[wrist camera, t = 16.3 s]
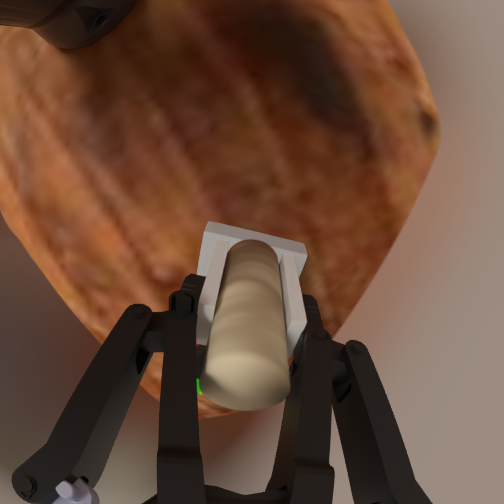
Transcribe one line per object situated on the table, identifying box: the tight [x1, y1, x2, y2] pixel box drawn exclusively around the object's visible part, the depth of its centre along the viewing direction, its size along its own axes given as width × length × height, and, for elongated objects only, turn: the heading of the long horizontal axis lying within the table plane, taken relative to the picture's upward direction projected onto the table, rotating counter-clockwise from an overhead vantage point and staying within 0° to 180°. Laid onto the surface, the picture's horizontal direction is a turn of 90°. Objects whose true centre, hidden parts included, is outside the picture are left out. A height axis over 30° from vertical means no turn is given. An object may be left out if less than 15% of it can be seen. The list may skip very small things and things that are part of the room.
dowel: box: [199, 239, 290, 411], centre depth 14 cm, size 4×4×10 cm
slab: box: [197, 221, 308, 279], centre depth 34 cm, size 10×12×4 cm
